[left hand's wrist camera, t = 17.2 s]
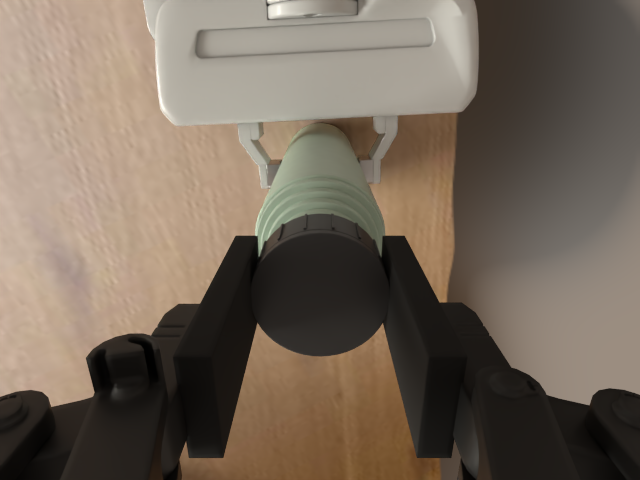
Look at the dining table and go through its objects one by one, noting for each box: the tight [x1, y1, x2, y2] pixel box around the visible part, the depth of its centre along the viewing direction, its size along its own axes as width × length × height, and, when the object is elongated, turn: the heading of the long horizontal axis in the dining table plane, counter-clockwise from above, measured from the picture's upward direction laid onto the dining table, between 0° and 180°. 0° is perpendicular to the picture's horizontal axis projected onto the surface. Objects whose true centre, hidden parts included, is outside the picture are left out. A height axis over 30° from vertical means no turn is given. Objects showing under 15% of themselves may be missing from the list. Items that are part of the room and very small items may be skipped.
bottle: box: [255, 123, 385, 256], centre depth 24 cm, size 6×6×23 cm
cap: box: [251, 213, 390, 356], centre depth 14 cm, size 4×4×2 cm
